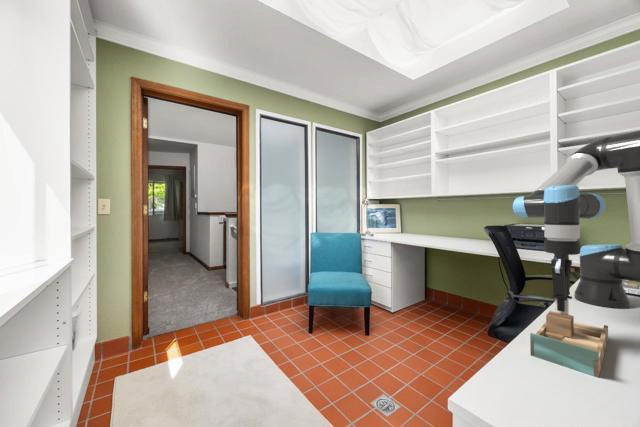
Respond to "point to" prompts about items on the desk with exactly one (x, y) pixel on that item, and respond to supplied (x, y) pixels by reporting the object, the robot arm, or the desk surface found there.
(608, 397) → the desk surface
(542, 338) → the tray
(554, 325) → the block
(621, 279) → the robot arm
